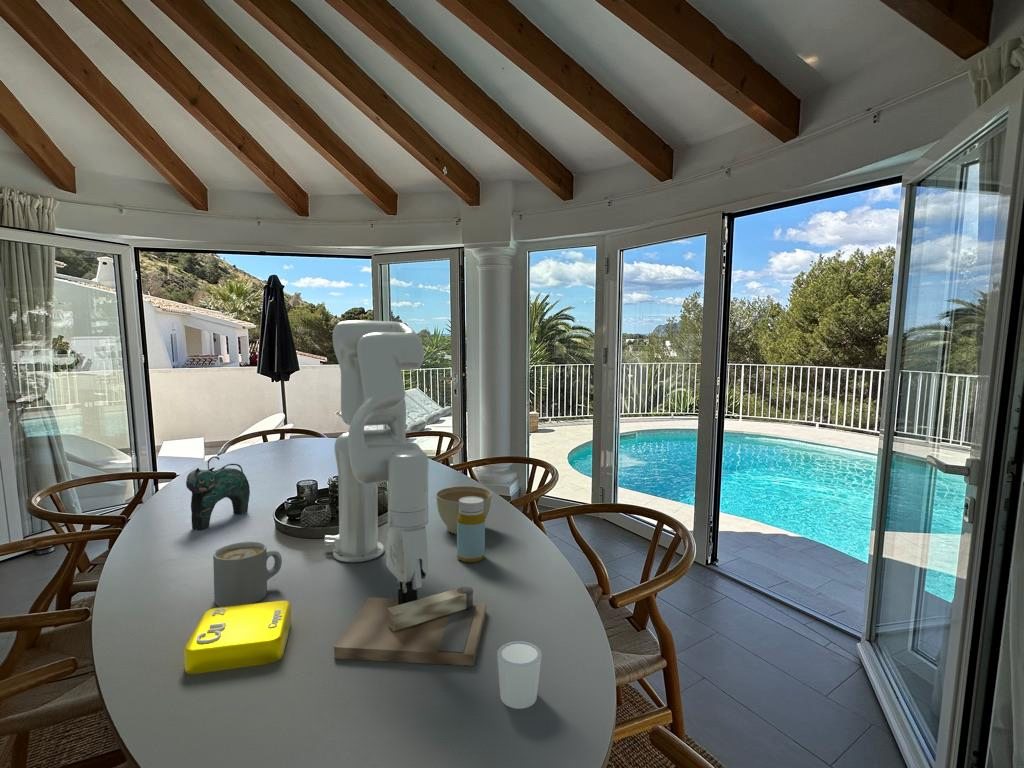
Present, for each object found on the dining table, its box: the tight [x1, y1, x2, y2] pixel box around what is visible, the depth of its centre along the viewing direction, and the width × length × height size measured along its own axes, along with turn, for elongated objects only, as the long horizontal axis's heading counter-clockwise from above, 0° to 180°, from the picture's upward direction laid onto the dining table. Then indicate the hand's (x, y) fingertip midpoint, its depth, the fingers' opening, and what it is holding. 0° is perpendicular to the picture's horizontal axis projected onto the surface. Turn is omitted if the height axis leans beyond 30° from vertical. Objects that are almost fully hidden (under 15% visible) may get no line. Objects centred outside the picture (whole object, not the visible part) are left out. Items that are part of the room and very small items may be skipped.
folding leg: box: [387, 586, 474, 631], centre depth 101 cm, size 17×3×3 cm, turn 125°
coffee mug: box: [212, 541, 283, 608], centre depth 113 cm, size 13×10×10 cm
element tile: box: [183, 600, 292, 675], centre depth 95 cm, size 15×15×5 cm
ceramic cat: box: [185, 456, 251, 531], centre depth 159 cm, size 20×6×20 cm, turn 161°
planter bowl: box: [435, 485, 493, 535], centre depth 154 cm, size 16×16×11 cm
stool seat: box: [333, 597, 487, 667], centre depth 99 cm, size 24×18×2 cm
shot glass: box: [496, 640, 543, 710], centre depth 81 cm, size 7×7×7 cm
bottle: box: [456, 496, 486, 563], centre depth 134 cm, size 7×7×15 cm
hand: (407, 608), depth 102 cm, fingers closed
